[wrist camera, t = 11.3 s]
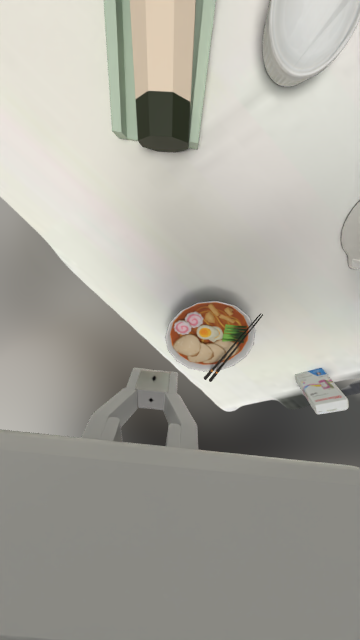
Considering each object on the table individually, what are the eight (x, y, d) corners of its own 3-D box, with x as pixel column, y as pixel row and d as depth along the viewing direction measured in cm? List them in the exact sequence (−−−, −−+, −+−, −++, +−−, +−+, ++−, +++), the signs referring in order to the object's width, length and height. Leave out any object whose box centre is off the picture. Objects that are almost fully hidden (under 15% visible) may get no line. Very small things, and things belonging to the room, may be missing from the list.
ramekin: (311, 104, 28) (334, 85, 24) (244, 89, 28) (254, 65, 23) (360, -26, 22) (403, -85, 18) (276, -49, 22) (298, -116, 17)
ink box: (322, 366, 58) (349, 399, 48) (323, 376, 60) (349, 409, 50) (294, 374, 60) (315, 406, 50) (296, 382, 63) (316, 415, 53)
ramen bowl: (193, 269, 43) (193, 280, 36) (267, 307, 48) (280, 324, 41) (155, 340, 55) (150, 358, 48) (217, 365, 60) (220, 385, 53)
